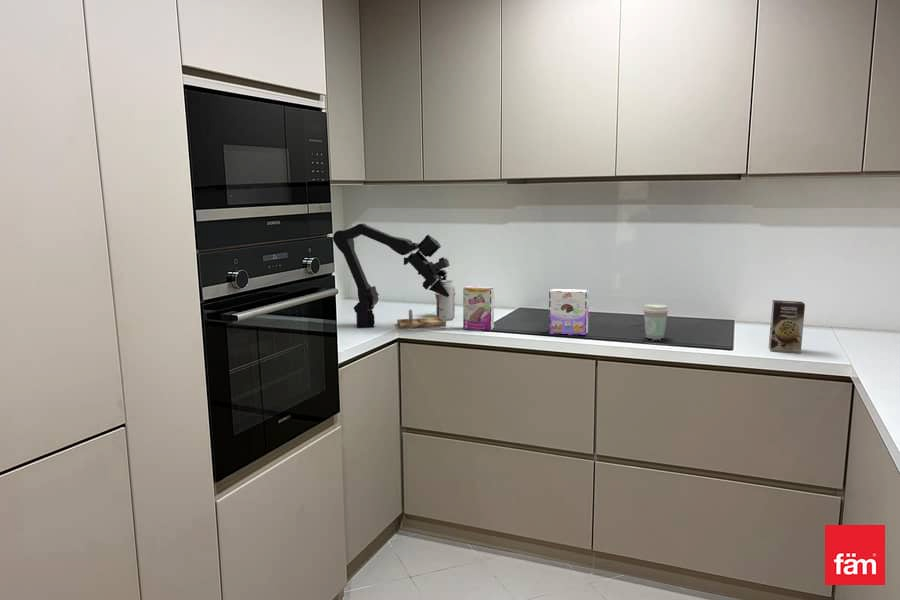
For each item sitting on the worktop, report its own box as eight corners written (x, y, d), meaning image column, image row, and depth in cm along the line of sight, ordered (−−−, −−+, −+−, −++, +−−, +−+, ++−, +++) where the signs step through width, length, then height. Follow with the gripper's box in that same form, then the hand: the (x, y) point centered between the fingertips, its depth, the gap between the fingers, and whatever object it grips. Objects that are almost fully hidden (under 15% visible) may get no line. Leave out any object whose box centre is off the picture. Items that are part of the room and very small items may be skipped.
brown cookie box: (770, 351, 215) (773, 302, 212) (768, 347, 221) (771, 299, 218) (801, 353, 211) (805, 304, 209) (798, 349, 217) (802, 300, 215)
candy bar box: (462, 329, 253) (462, 287, 250) (466, 327, 257) (466, 285, 255) (491, 331, 249) (491, 288, 247) (494, 328, 254) (494, 286, 251)
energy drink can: (438, 318, 256) (438, 280, 254) (453, 318, 257) (453, 279, 254) (439, 321, 250) (439, 282, 248) (455, 321, 251) (455, 282, 249)
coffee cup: (639, 336, 239) (640, 303, 237) (663, 336, 238) (664, 303, 236) (645, 341, 230) (646, 307, 228) (670, 341, 230) (671, 307, 228)
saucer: (410, 324, 258) (410, 310, 257) (408, 322, 263) (408, 308, 262) (412, 324, 258) (412, 310, 257) (410, 322, 263) (410, 308, 263)
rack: (400, 328, 255) (400, 323, 255) (397, 324, 264) (397, 319, 264) (446, 326, 259) (446, 321, 259) (441, 322, 268) (441, 317, 268)
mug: (432, 316, 281) (431, 292, 279) (451, 314, 284) (450, 291, 282) (442, 321, 270) (441, 296, 268) (461, 319, 273) (461, 295, 271)
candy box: (588, 333, 245) (589, 289, 242) (585, 336, 239) (587, 291, 237) (551, 331, 249) (552, 287, 247) (548, 334, 244) (548, 290, 241)
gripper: (431, 253, 241) (460, 284, 241) (442, 248, 259) (469, 277, 259) (410, 273, 244) (439, 304, 244) (422, 268, 262) (449, 296, 262)
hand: (450, 295), depth 252 cm, fingers closed on energy drink can, 6 cm apart
